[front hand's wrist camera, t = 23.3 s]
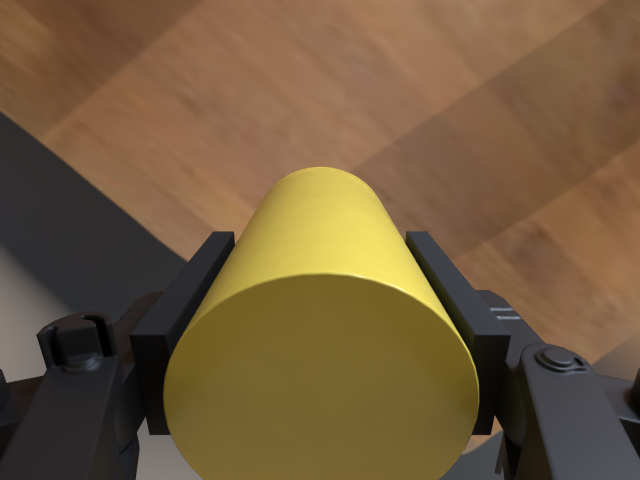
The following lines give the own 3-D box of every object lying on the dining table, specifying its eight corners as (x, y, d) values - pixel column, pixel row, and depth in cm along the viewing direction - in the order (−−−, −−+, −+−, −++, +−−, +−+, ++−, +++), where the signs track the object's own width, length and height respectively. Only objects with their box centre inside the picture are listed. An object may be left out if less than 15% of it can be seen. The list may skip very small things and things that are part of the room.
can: (231, 254, 18) (114, 453, 8) (296, 139, 16) (256, 204, 6) (340, 313, 19) (364, 555, 9) (414, 212, 18) (548, 372, 7)
